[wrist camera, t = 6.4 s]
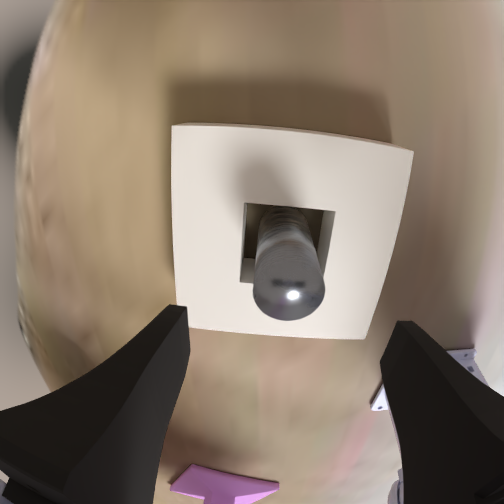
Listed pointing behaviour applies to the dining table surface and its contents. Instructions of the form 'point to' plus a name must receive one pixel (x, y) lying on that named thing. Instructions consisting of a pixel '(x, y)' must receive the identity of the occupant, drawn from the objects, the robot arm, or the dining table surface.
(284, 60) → the dining table surface
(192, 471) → the pink table lamp
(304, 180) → the socket block
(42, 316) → the dining table surface
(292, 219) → the peg
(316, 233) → the dining table surface
